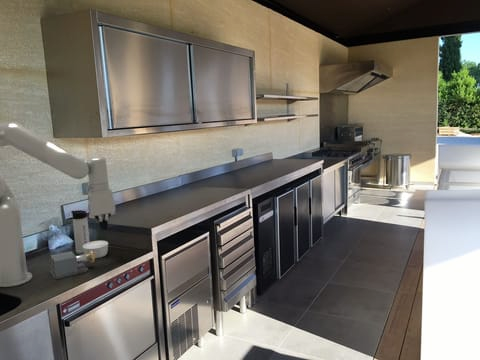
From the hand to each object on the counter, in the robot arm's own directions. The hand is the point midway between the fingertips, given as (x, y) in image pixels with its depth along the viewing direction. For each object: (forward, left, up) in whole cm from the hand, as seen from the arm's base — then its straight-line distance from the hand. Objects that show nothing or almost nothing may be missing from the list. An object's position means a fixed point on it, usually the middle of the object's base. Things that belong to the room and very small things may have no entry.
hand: (104, 229), depth 175 cm
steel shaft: (-11, 0, -13) cm, 17 cm away
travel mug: (-5, +22, -15) cm, 27 cm away
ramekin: (-1, +14, -15) cm, 21 cm away
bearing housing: (-15, 0, -15) cm, 22 cm away
